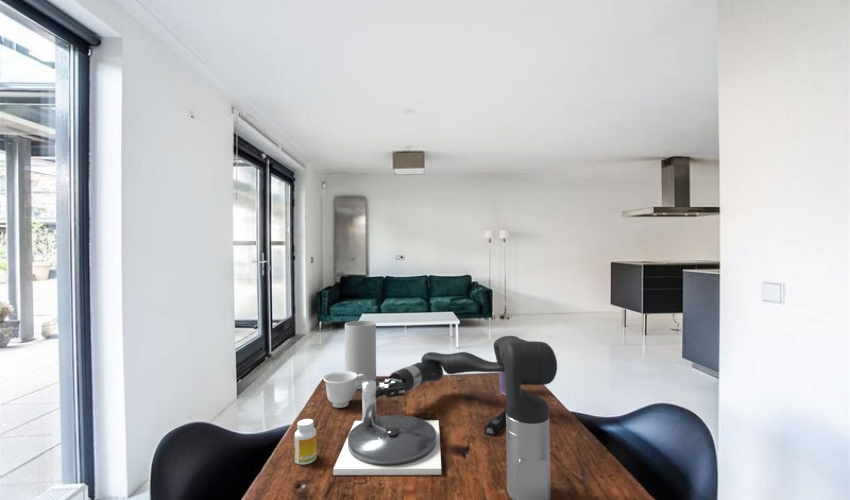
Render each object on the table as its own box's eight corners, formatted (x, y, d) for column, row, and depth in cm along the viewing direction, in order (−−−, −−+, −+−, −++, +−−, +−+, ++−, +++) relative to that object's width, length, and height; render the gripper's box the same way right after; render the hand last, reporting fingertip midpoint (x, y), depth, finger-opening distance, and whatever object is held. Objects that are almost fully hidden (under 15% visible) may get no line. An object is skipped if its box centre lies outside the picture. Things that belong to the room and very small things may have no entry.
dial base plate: (441, 474, 89) (441, 467, 89) (333, 475, 90) (333, 467, 90) (438, 425, 115) (438, 419, 115) (354, 425, 116) (354, 419, 116)
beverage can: (497, 394, 141) (497, 354, 141) (502, 388, 146) (501, 350, 146) (513, 396, 138) (513, 356, 138) (517, 391, 143) (517, 352, 143)
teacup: (369, 407, 130) (369, 378, 130) (325, 414, 124) (325, 384, 125) (362, 395, 141) (361, 368, 141) (321, 401, 136) (321, 373, 136)
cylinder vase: (343, 381, 157) (343, 321, 157) (373, 378, 161) (373, 319, 161) (346, 391, 145) (346, 327, 145) (378, 387, 149) (378, 325, 149)
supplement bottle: (320, 457, 98) (320, 420, 98) (304, 467, 93) (304, 428, 93) (306, 452, 100) (306, 415, 101) (290, 461, 96) (290, 423, 96)
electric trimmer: (514, 418, 121) (514, 408, 121) (495, 437, 108) (494, 426, 108) (503, 416, 123) (503, 406, 123) (483, 434, 110) (483, 423, 110)
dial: (444, 460, 93) (444, 403, 93) (346, 470, 89) (345, 411, 89) (427, 418, 116) (427, 373, 117) (349, 425, 112) (349, 378, 113)
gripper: (421, 394, 122) (387, 414, 108) (390, 386, 130) (354, 403, 115) (421, 371, 122) (387, 388, 108) (390, 365, 130) (354, 379, 115)
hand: (370, 396), depth 112 cm, fingers closed
